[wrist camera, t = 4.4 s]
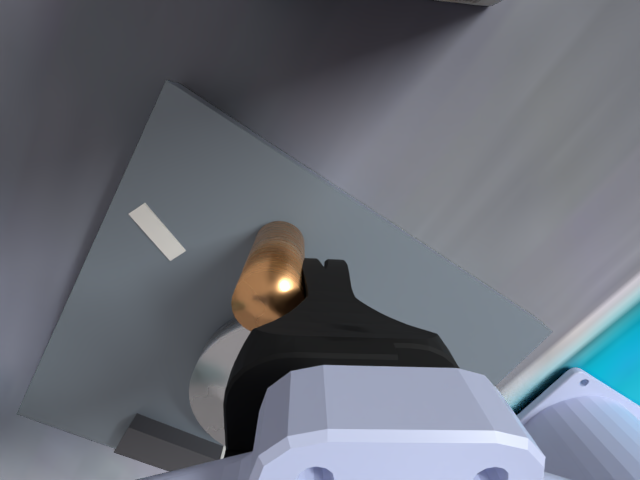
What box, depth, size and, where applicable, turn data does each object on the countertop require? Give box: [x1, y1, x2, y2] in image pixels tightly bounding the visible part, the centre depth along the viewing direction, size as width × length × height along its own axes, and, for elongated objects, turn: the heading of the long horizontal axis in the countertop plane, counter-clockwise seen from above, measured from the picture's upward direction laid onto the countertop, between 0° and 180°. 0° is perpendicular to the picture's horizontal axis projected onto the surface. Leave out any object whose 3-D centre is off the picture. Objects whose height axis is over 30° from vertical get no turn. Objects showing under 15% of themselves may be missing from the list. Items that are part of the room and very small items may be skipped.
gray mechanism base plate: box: [17, 80, 552, 472], centre depth 15 cm, size 20×18×3 cm
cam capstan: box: [189, 221, 305, 446], centre depth 13 cm, size 12×8×4 cm, turn 179°
